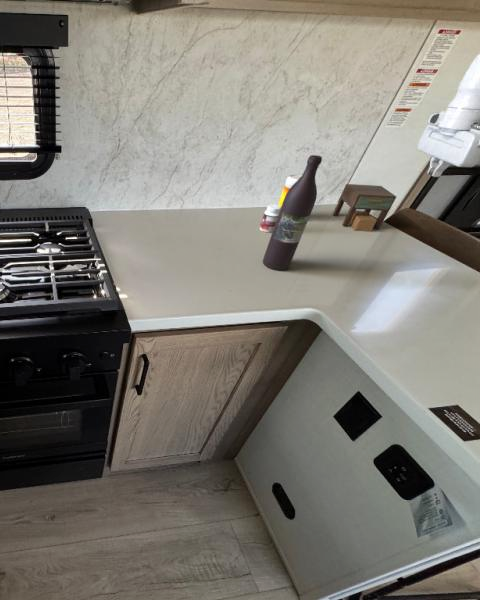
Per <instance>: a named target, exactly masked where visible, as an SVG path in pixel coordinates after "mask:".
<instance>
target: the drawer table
mask: <svg viewBox="0 0 480 600" xmlns="http://www.w3.org/2000/svg"><path fill="white" fill-rule="evenodd" d="M396 199H397V195H395V194H394V193H392V192H391V191H389V190H388V189H387V188H385V187H383V185H371V184H353V183H346V184H345V186H344V189H343V190H342V192H341V194H340V197H339V199H338V201H337V203H336V206H335V208H334V211H333V213H332V216H333V217H339V215H340V213H341V211H342V208H343V206H344V204H346V205H348V207H349V209H348V212H347V214H346V216H345V218H344V220H343V221H342V224H341V226H343V227H346V228H348V227H349V226H350V225H349V223H350V221H351V219H352V217H353V215H354V213H355V211H357V210H363V211H364V212H368V213H369V214H371V211H380V213H379V214H378V217H377V218H376V220H377V221H376V223H375V225H374V227H373V229H374V230H380V228H381V226H382V224H383V223H384V221H385V219H386V217H387V215H388V213H389V212H390V210H391V208H392V206H393V205H394V202H395V201H396Z"/></svg>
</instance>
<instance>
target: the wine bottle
mask: <svg viewBox="0 0 480 600" xmlns="http://www.w3.org/2000/svg"><path fill="white" fill-rule="evenodd" d="M322 161H323V157H322V156H321V155H316V154H313V155H312V154H311V155H309V157H308V158H307V161H306V167H305V168H304V171H303V173H302V174H301V175H302V176H301V177H300V179H299V180H298V181H297V182H296V183H295V184H294V185H293V186H292V187H291V188H290V189H289V191H288V192H287V194H286V196H285V198H284V201H283V204H282V207H281V209H280V212H279V215H278V218H277V221H276V224H275V227H274V230H273V232H271V236H270V239H269V241H268V244H267V247H266V249H265V253H264V254H263V259H262V264H263V265H264V266H265V267H266V268H268V269H271V270H274V271H287V270H288V269H289V268H290V266H291V263H292V261H293V258H294V256H295V255H296V252H297V249H298V246H299V244H300V242H301V239H302V236H303V234H304V232H305V229H306V226H307V224H308V222H309V219H310V217H311V215H312V212H313V210H314V207H315V204H316V202H317V196H318V188H317V183H316V175H317V171H318V168H319V166H320V165H321V164H322Z"/></svg>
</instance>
